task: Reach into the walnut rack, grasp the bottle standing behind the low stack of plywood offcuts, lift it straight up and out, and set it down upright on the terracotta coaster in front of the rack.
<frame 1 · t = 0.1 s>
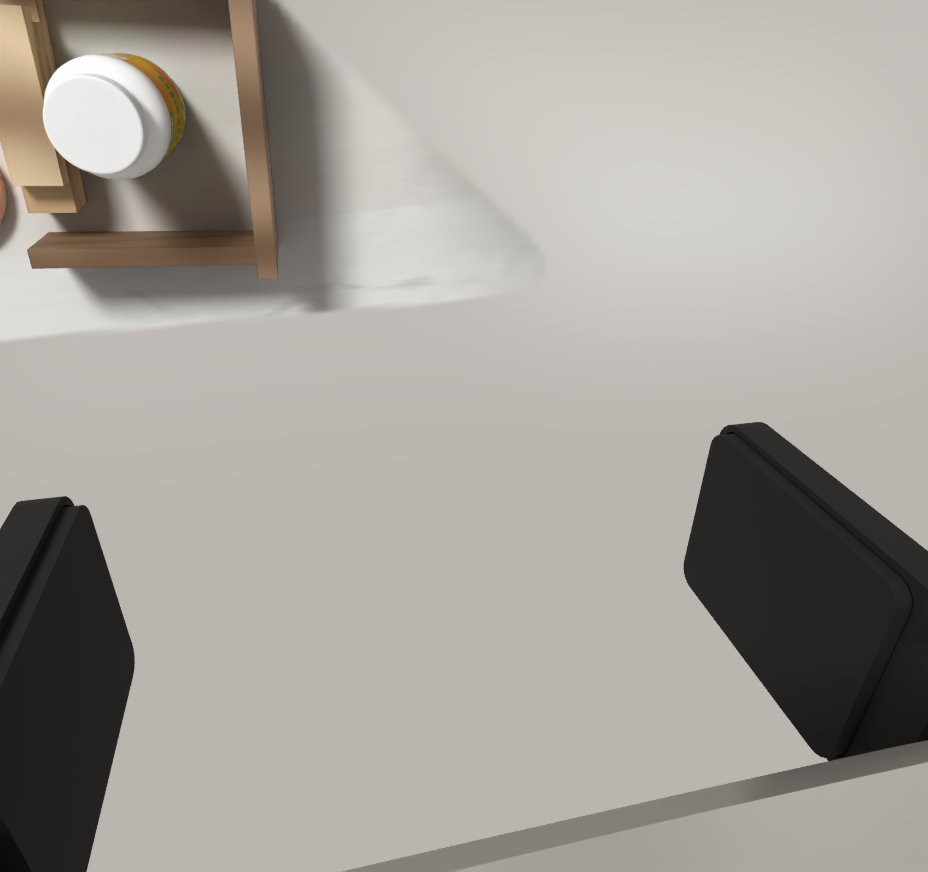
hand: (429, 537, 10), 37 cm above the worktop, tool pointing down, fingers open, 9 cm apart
supplement bottle: (135, 108, 38), resting in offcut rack
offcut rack: (135, 108, 38), on the worktop
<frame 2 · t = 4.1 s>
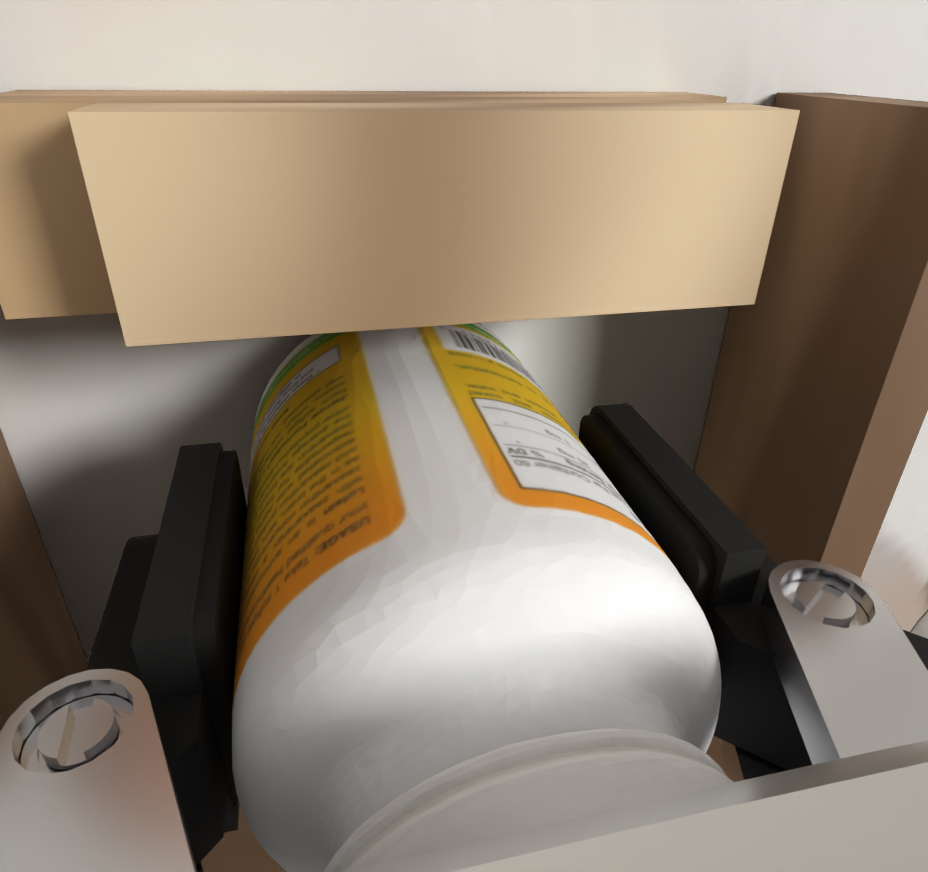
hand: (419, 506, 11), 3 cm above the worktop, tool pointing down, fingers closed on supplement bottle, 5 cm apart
supplement bottle: (396, 426, 13), resting in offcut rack, touching gripper
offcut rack: (398, 432, 13), on the worktop
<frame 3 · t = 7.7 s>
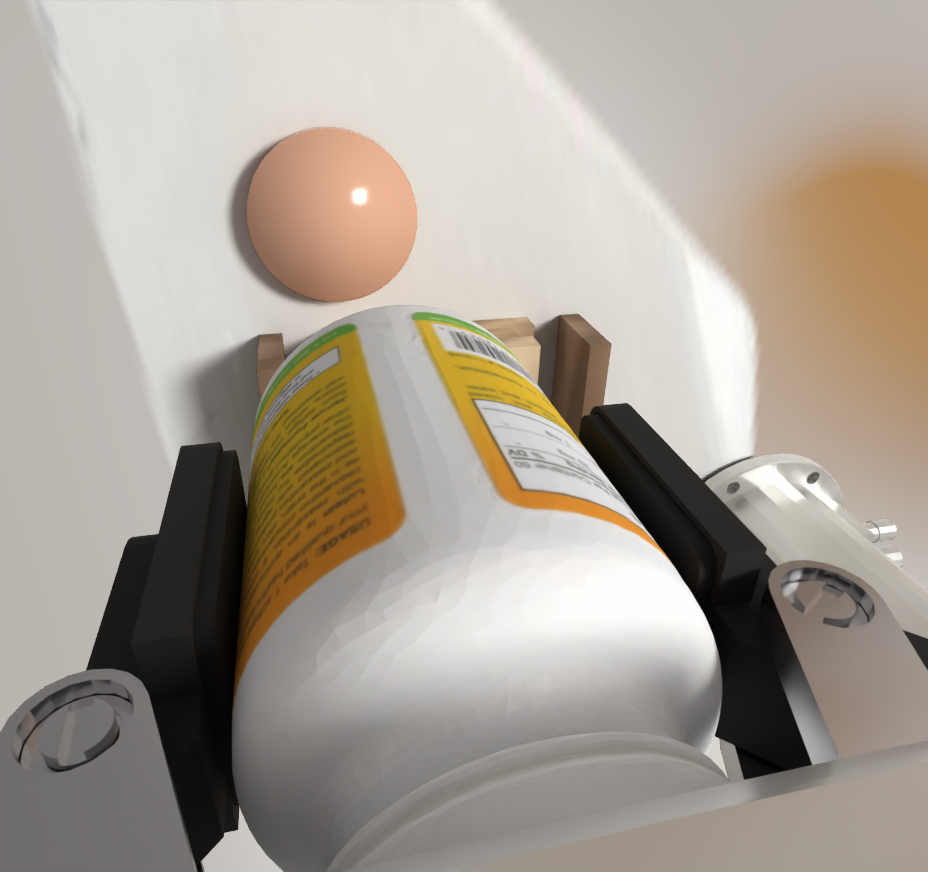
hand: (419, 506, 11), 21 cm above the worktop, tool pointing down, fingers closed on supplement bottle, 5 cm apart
supplement bottle: (396, 427, 13), point 19 cm above the worktop, touching gripper
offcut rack: (427, 431, 35), on the worktop
terracotta coaster: (333, 216, 29), on the worktop
when the fingers open (4 cm above the worktop, at t = 11.7 s): supplement bottle drops 1 cm, resting on terracotta coaster.
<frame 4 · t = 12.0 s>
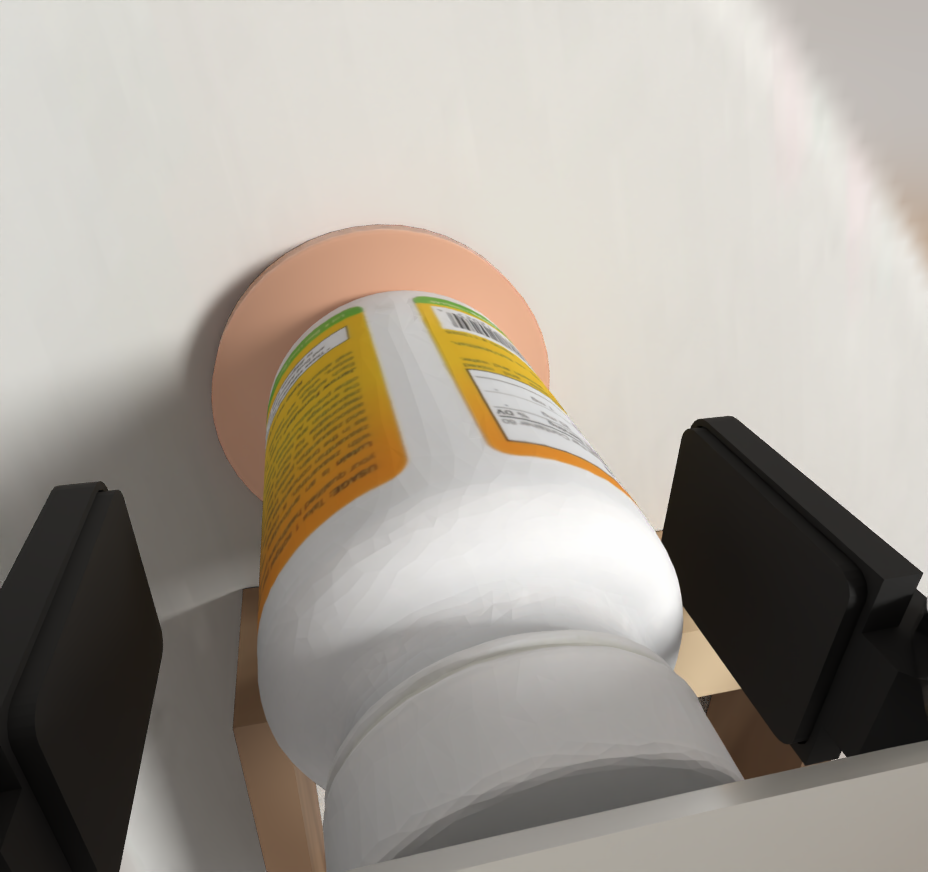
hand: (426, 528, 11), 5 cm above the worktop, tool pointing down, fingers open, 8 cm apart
supplement bottle: (399, 405, 14), point 1 cm above the worktop, touching terracotta coaster
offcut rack: (528, 696, 21), on the worktop
terracotta coaster: (384, 388, 15), on the worktop
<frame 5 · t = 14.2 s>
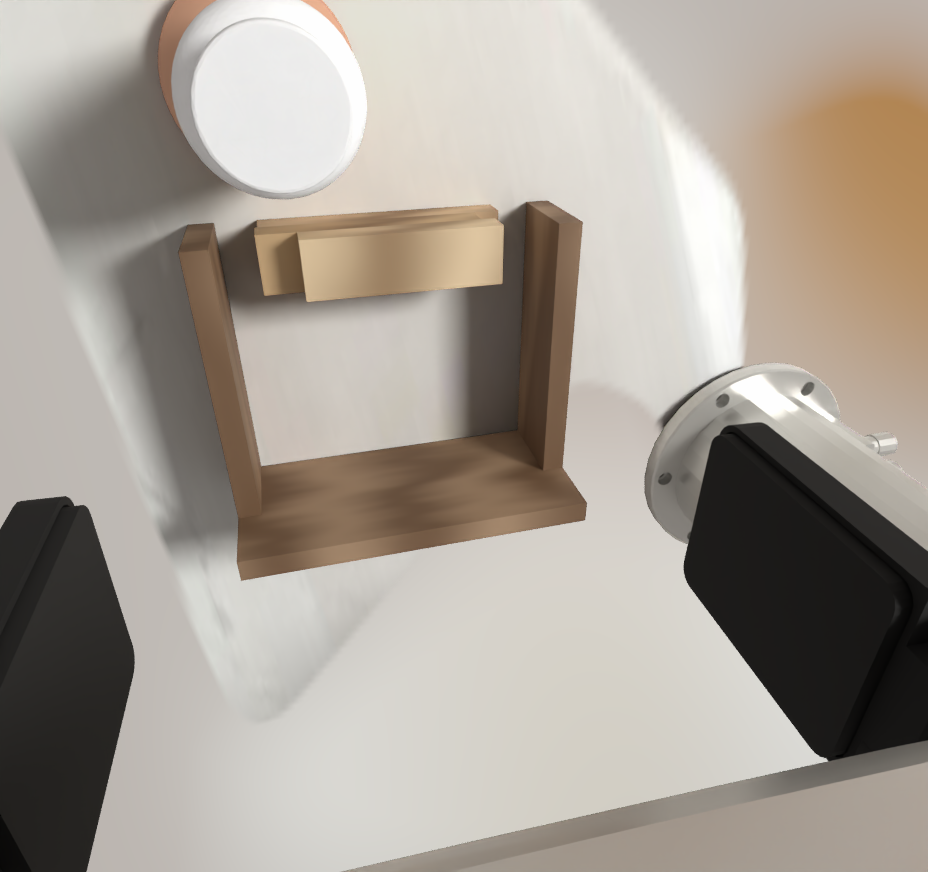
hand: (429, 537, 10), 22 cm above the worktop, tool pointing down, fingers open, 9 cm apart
supplement bottle: (268, 84, 25), point 1 cm above the worktop, touching terracotta coaster
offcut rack: (386, 340, 32), on the worktop
terracotta coaster: (261, 79, 25), on the worktop
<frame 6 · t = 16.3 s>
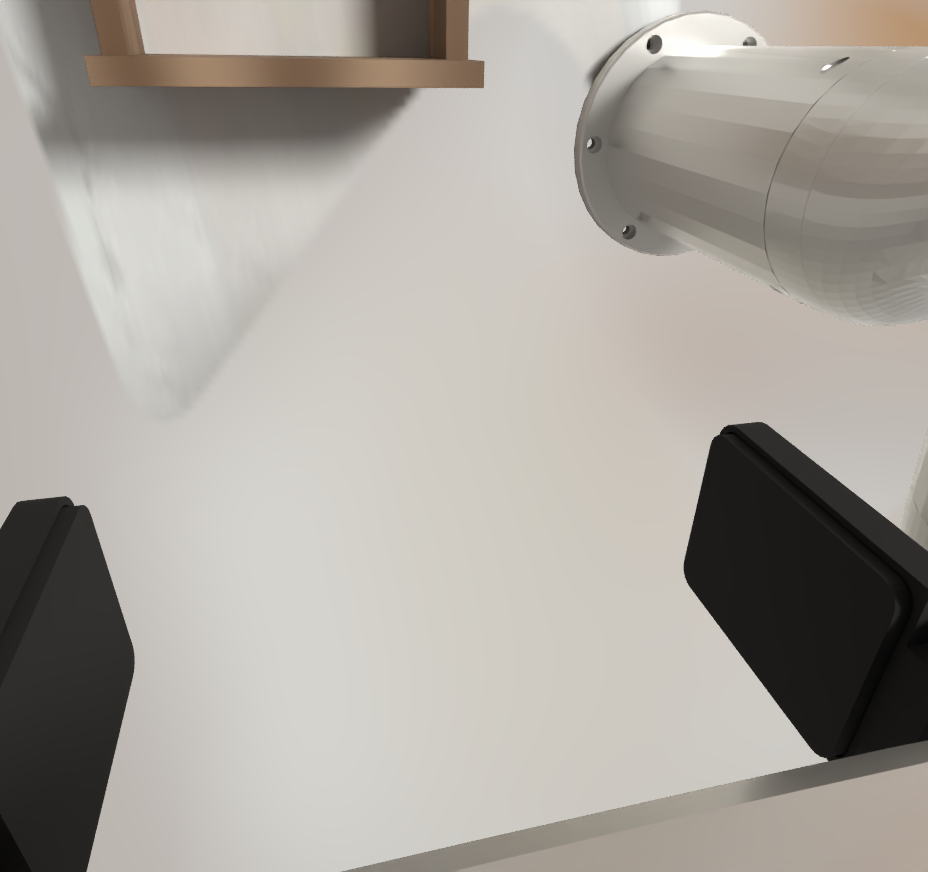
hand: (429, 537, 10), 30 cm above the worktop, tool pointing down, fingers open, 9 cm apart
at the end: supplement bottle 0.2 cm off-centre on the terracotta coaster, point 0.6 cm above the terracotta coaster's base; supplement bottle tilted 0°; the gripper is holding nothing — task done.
